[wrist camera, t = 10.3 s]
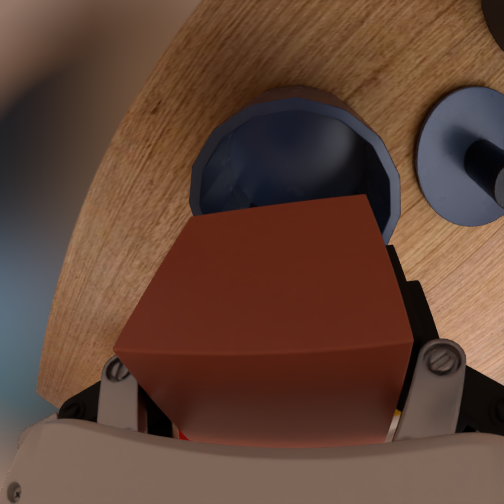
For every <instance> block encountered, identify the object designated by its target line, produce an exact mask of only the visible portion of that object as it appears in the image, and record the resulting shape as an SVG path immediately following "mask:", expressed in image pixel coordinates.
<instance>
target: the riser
mask: <svg viewBox="0 0 504 504" xmlns="http://www.w3.org/2000/svg"><path fill="white" fill-rule="evenodd" d="M481 1H482V8H483V13H484V16H485V19H486V22H487V25H488V27H489V29H490V31H491V33H492V35H493V37H494V39H495V40H496V42H497V43H498V45H499V46H500V47H501V49H502V50H503V51H504V0H481Z"/></svg>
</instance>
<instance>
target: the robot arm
mask: <svg viewBox="0 0 504 504" xmlns="http://www.w3.org/2000/svg"><path fill="white" fill-rule="evenodd" d="M385 246H386V249H387V252H388V255H389V258H390V261H391V264H392V267H393V270H394V273H395V276H396V279H397V283H398V286H399V289H400V292H401V296H402V299H403V302H404V306H405V309H406V313H407V316H408V320H409V324H410V328H411V331H412V335H413V339H414V341H413V346H412V350H411V355H410V359H409V363H408V367H407V371H406V375H405V379H404V383H403V386H402V390H401V393H400V397H399V400H398V404H397V407H396V409H397V410H399V411H400V412H401V414H400V417H399V421H398V424H397V427H396V430H395V432H394V435H393V438H392V441H391V442H386V443H377V444H366V445H355V446H341V447H321V448H269V447H247V446H233V445H222V444H212V443H203V442H195V441H188V440H180V439H179V431H178V428H177V427H176V426H175V425H174V424H173V423H172V421H171V420H170V419H169V418H168V417H167V416H166V415H165V414H164V413H163V411H162V410H161V409H160V408H159V407H158V406H157V405H156V403H155V402H154V401H153V400H152V399H151V398H150V396H149V395H148V394H147V393H146V392H145V391H144V389H143V388H142V387H141V386H140V384H139V383H138V382H137V381H136V379H135V378H134V377H133V376H132V374H131V373H130V372H129V371H128V369H127V368H126V367H125V365H124V364H123V363H122V362H121V360H120V359H119V358H118V356H117V355H115V356H113V357H111V358H110V359H109V360H108V361H107V362H106V364H105V365H104V367H103V370H102V376H101V380H100V381H99V382H97V383H95V384H94V385H92V386H90V387H88V388H87V389H85V390H83V391H82V392H80V393H78V394H76V395H75V396H73V397H71V398H69V399H68V400H67V401H65V403H64V404H63V405H62V406H61V408H60V410H59V414H58V413H57V412H55V413H53V414H51V415H50V416H48V417H46V418H44V419H42V420H40V421H39V422H37V423H35V424H33V425H31V426H29V427H27V428H26V429H24V430H23V431H22V432H21V434H20V436H19V438H18V450H19V451H18V453H17V455H16V457H15V459H14V461H13V463H12V465H11V468H10V470H9V472H8V475H7V477H6V480H5V482H4V485H3V488H2V491H1V493H0V504H504V386H503V385H501V384H500V383H498V382H496V381H494V380H492V379H491V378H489V377H487V376H485V375H483V374H482V373H480V372H478V371H476V370H474V369H473V368H471V367H469V366H467V365H466V355H465V353H464V350H463V349H462V348H461V347H460V345H459V344H457V343H455V342H454V341H452V340H448V339H440V338H439V335H438V332H437V329H436V326H435V323H434V320H433V317H432V314H431V311H430V308H429V305H428V303H427V300H426V297H425V294H424V292H423V289H422V287H421V284H420V282H419V281H418V280H415V281H406V278H405V275H404V272H403V270H402V267H401V264H400V261H399V259H398V256H397V253H396V251H395V248H394V246H393V245H385Z"/></svg>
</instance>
